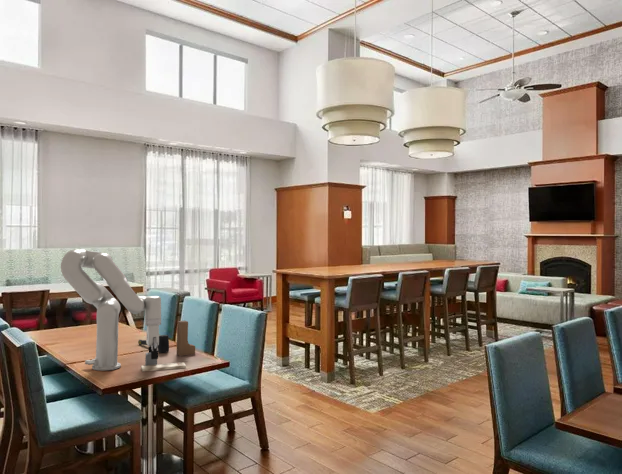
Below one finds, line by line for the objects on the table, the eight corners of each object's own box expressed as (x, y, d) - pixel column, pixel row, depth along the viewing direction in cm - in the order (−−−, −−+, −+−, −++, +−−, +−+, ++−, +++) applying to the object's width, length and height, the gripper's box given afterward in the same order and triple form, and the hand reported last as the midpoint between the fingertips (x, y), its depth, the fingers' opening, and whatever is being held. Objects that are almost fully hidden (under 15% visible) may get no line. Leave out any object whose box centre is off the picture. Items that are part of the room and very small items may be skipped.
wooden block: (192, 352, 266) (193, 319, 266) (195, 354, 262) (196, 320, 263) (176, 354, 261) (177, 320, 261) (179, 356, 257) (180, 322, 257)
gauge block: (146, 367, 234) (146, 354, 234) (145, 365, 238) (145, 352, 238) (157, 366, 236) (157, 354, 236) (155, 364, 240) (156, 352, 240)
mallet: (134, 345, 280) (135, 328, 280) (144, 344, 284) (144, 327, 284) (161, 354, 260) (161, 336, 260) (171, 353, 265) (171, 335, 265)
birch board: (142, 371, 226) (142, 368, 226) (141, 368, 231) (141, 365, 231) (186, 367, 234) (186, 365, 234) (183, 364, 240) (183, 362, 240)
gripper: (143, 319, 243) (143, 353, 243) (147, 325, 228) (147, 361, 228) (158, 318, 246) (158, 352, 246) (163, 323, 231) (163, 359, 231)
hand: (153, 356), depth 237 cm, fingers open, 9 cm apart
